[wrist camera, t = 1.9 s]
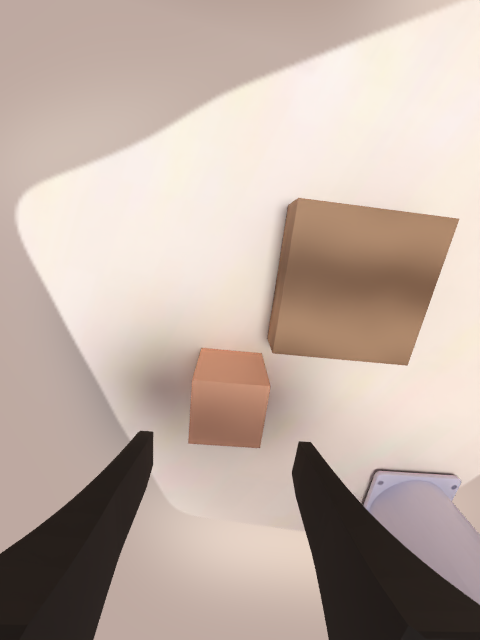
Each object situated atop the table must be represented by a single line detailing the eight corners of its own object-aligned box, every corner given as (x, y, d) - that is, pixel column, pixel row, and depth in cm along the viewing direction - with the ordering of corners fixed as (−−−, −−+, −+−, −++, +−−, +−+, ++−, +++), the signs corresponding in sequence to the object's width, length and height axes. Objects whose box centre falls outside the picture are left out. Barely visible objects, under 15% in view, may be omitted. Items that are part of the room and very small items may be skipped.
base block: (384, 349, 18) (407, 365, 16) (267, 338, 18) (272, 353, 15) (424, 222, 16) (459, 218, 13) (288, 205, 15) (298, 197, 13)
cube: (253, 403, 20) (259, 448, 15) (198, 399, 19) (188, 443, 15) (261, 352, 18) (270, 386, 14) (201, 347, 18) (192, 380, 14)
